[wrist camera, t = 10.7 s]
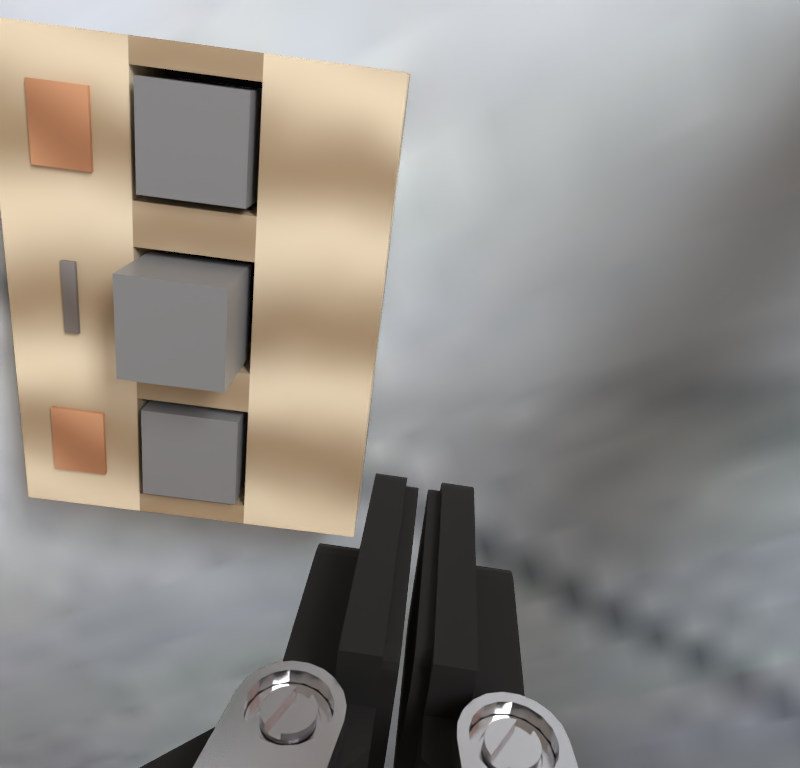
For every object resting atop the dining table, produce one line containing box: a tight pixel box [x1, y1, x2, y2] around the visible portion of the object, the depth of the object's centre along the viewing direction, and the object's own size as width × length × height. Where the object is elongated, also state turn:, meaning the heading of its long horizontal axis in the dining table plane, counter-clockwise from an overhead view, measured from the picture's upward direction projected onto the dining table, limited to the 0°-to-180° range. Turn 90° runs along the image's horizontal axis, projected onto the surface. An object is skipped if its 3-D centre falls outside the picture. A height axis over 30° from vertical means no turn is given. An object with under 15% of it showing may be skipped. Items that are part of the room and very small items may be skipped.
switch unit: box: [0, 18, 410, 537], centre depth 32 cm, size 21×16×4 cm
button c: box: [141, 400, 248, 505], centre depth 35 cm, size 4×4×4 cm
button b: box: [113, 251, 251, 393], centre depth 30 cm, size 4×4×4 cm
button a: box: [133, 75, 262, 209], centre depth 29 cm, size 4×4×4 cm
